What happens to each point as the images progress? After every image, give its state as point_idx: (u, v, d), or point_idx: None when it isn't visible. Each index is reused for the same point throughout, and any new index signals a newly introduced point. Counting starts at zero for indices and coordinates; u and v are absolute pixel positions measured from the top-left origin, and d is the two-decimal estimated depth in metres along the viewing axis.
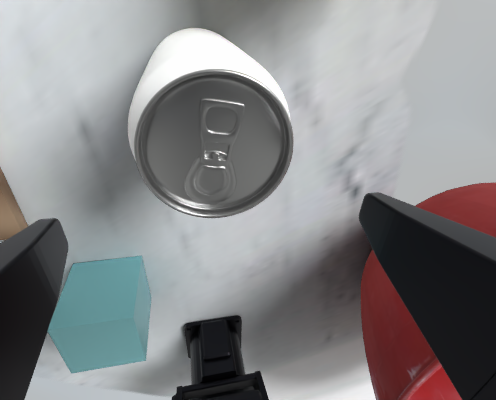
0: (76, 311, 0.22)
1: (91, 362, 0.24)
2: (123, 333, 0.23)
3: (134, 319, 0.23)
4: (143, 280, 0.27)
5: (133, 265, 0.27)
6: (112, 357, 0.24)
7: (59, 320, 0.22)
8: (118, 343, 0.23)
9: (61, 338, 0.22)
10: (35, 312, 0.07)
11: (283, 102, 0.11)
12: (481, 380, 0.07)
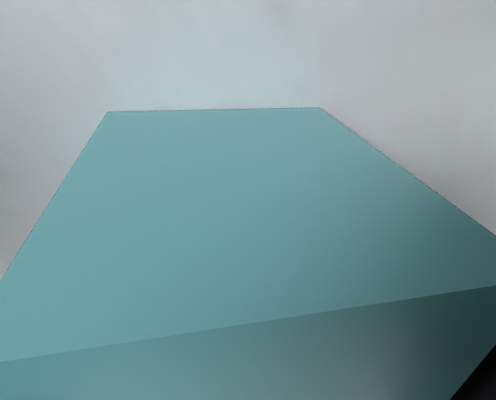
0: None
1: None
2: (183, 392, 0.03)
3: (35, 332, 0.03)
4: (177, 128, 0.07)
5: None
6: None
7: None
8: None
9: None
10: None
11: None
12: None
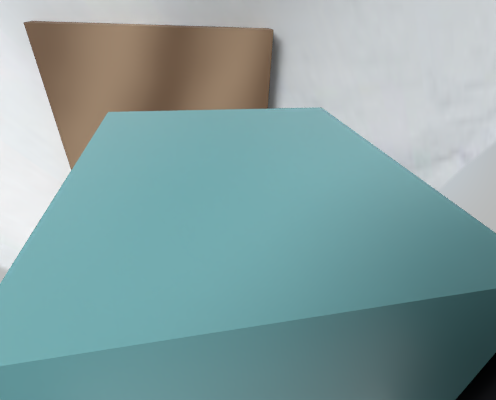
0: None
1: None
2: (186, 396, 0.03)
3: (35, 334, 0.03)
4: (178, 128, 0.07)
5: None
6: None
7: None
8: None
9: None
10: None
11: None
12: None
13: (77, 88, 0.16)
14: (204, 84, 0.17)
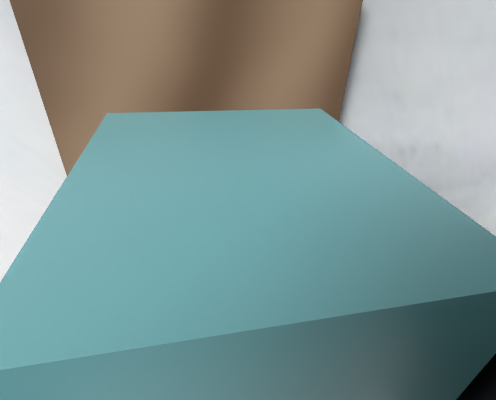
0: None
1: None
2: (184, 399, 0.03)
3: (32, 339, 0.03)
4: (177, 129, 0.07)
5: None
6: None
7: None
8: None
9: None
10: None
11: None
12: None
13: (82, 74, 0.11)
14: (262, 70, 0.12)
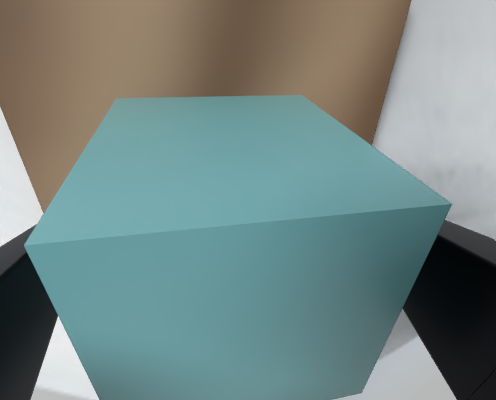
0: None
1: (337, 362, 0.07)
2: (181, 285, 0.04)
3: (79, 227, 0.04)
4: (176, 110, 0.08)
5: None
6: (344, 316, 0.06)
7: None
8: (252, 302, 0.05)
9: None
10: (41, 311, 0.07)
11: None
12: (476, 380, 0.06)
13: (58, 93, 0.09)
14: (283, 85, 0.10)
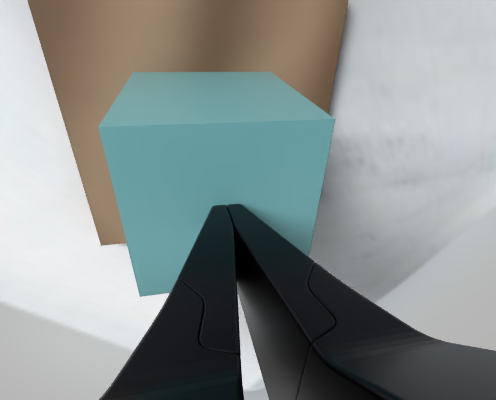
0: None
1: None
2: (179, 162, 0.08)
3: (124, 122, 0.07)
4: (176, 79, 0.11)
5: None
6: (281, 199, 0.09)
7: None
8: (221, 180, 0.08)
9: (174, 279, 0.10)
10: None
11: None
12: None
13: (91, 67, 0.12)
14: (256, 64, 0.13)
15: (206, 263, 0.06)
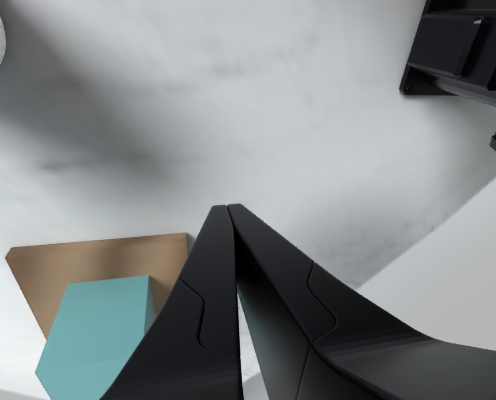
0: None
1: None
2: (72, 376, 0.18)
3: (46, 366, 0.17)
4: (88, 295, 0.22)
5: None
6: None
7: None
8: (94, 378, 0.19)
9: None
10: None
11: None
12: None
13: (44, 285, 0.22)
14: (139, 273, 0.23)
15: (206, 263, 0.06)
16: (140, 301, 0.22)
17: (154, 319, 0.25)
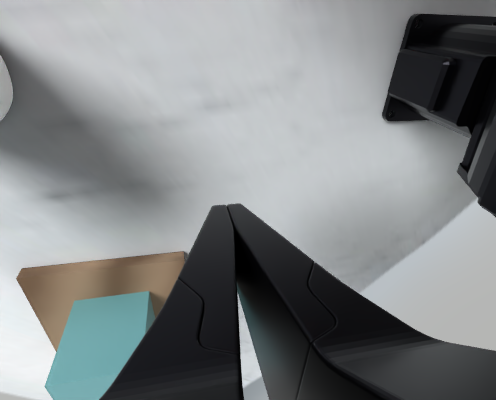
0: None
1: None
2: (78, 389, 0.20)
3: (55, 381, 0.19)
4: (93, 312, 0.23)
5: None
6: None
7: None
8: (98, 390, 0.20)
9: None
10: None
11: None
12: None
13: (52, 302, 0.24)
14: (140, 289, 0.25)
15: (206, 263, 0.06)
16: (141, 317, 0.23)
17: None
